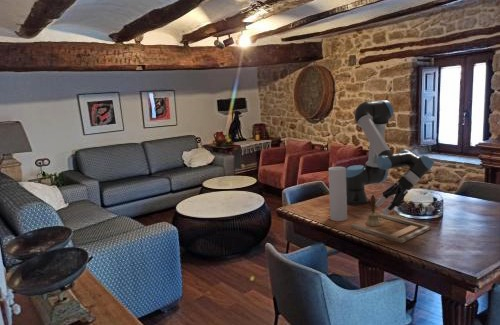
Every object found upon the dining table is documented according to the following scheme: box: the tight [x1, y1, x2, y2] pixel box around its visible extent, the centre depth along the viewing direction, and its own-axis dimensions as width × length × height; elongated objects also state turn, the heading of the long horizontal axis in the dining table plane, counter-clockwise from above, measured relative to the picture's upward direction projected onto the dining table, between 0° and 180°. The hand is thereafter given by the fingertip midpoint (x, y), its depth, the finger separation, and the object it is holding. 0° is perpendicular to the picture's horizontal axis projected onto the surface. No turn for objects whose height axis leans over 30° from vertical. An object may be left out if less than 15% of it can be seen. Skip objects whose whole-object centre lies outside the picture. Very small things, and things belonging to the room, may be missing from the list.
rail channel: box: [350, 212, 431, 244], centre depth 191 cm, size 24×30×2 cm
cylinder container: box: [328, 166, 348, 222], centre depth 208 cm, size 9×9×30 cm
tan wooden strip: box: [390, 225, 419, 238], centre depth 184 cm, size 21×4×1 cm, turn 124°
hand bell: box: [365, 194, 382, 227], centre depth 198 cm, size 8×8×16 cm
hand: (379, 209), depth 196 cm, fingers open, 13 cm apart
